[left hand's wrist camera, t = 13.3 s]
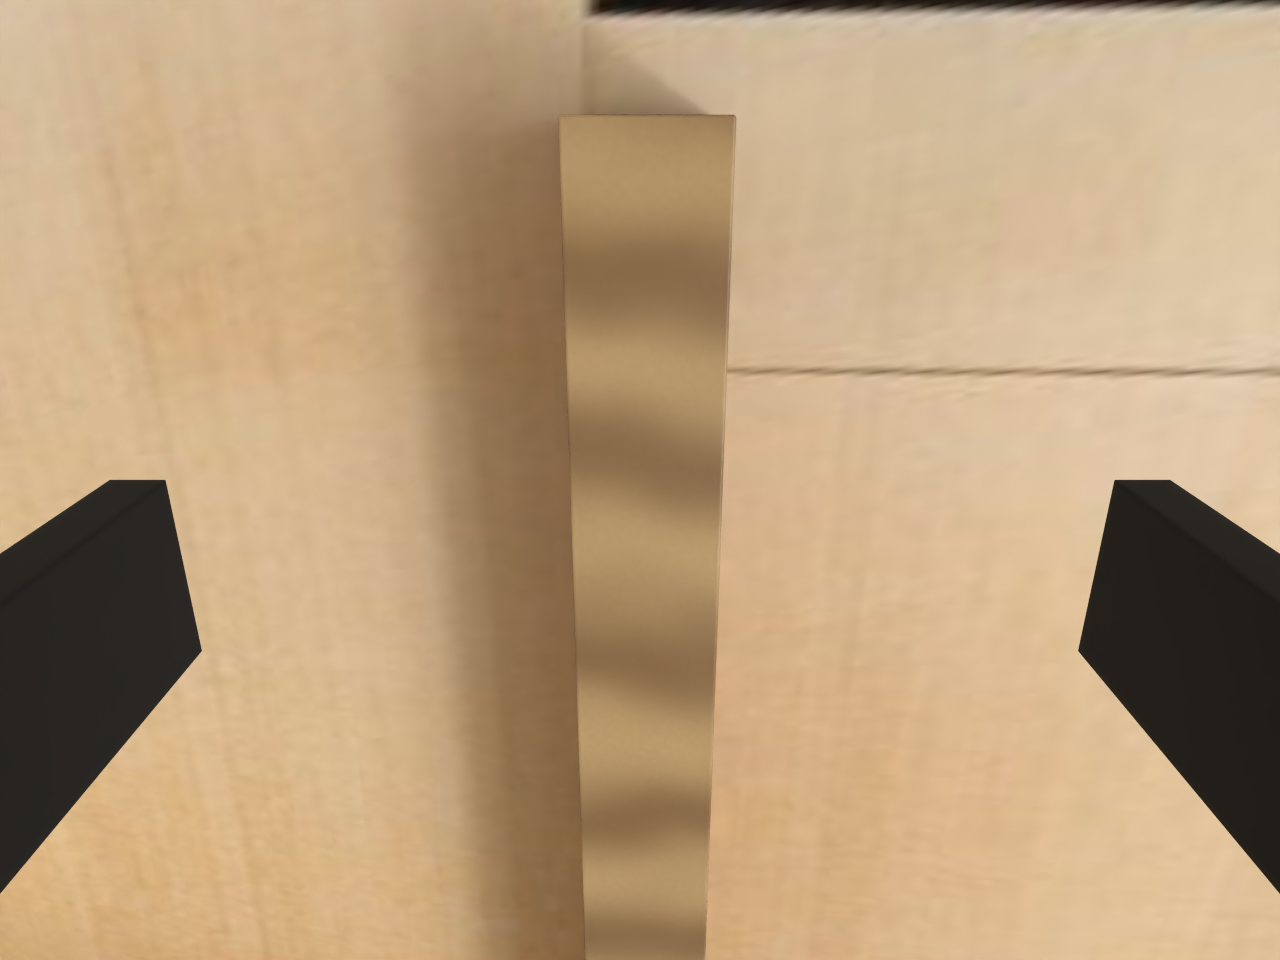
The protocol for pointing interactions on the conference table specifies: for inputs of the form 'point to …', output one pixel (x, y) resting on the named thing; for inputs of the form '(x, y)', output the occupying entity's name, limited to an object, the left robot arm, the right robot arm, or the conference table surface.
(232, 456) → the conference table surface
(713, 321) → the post
